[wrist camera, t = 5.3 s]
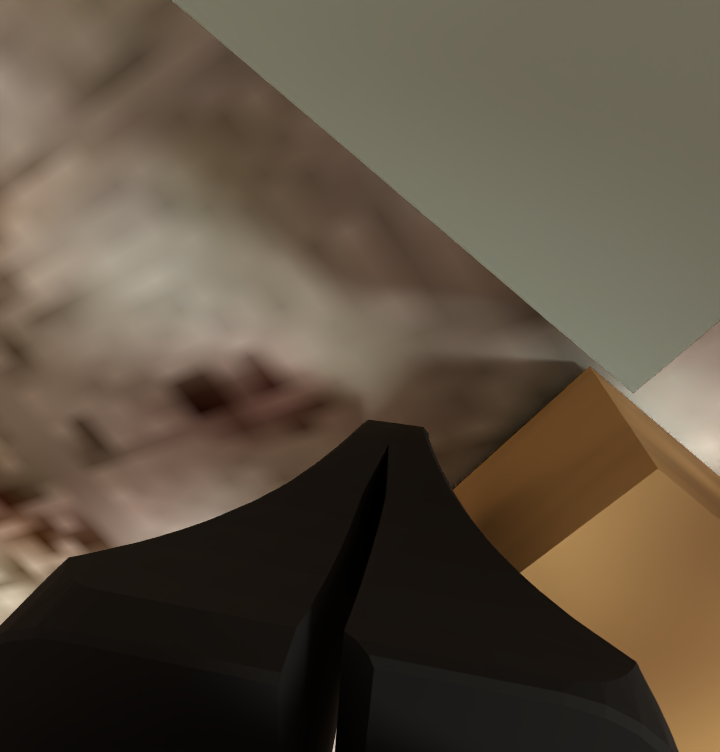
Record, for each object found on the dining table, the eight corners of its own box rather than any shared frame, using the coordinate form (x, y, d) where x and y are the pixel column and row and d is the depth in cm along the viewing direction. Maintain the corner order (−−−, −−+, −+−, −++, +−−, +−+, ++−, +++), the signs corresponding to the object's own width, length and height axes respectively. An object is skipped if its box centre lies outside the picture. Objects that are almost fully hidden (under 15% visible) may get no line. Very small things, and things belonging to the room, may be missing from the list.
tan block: (757, 509, 11) (900, 670, 8) (551, 645, 14) (586, 818, 10) (589, 365, 11) (657, 468, 7) (404, 533, 13) (385, 674, 10)
